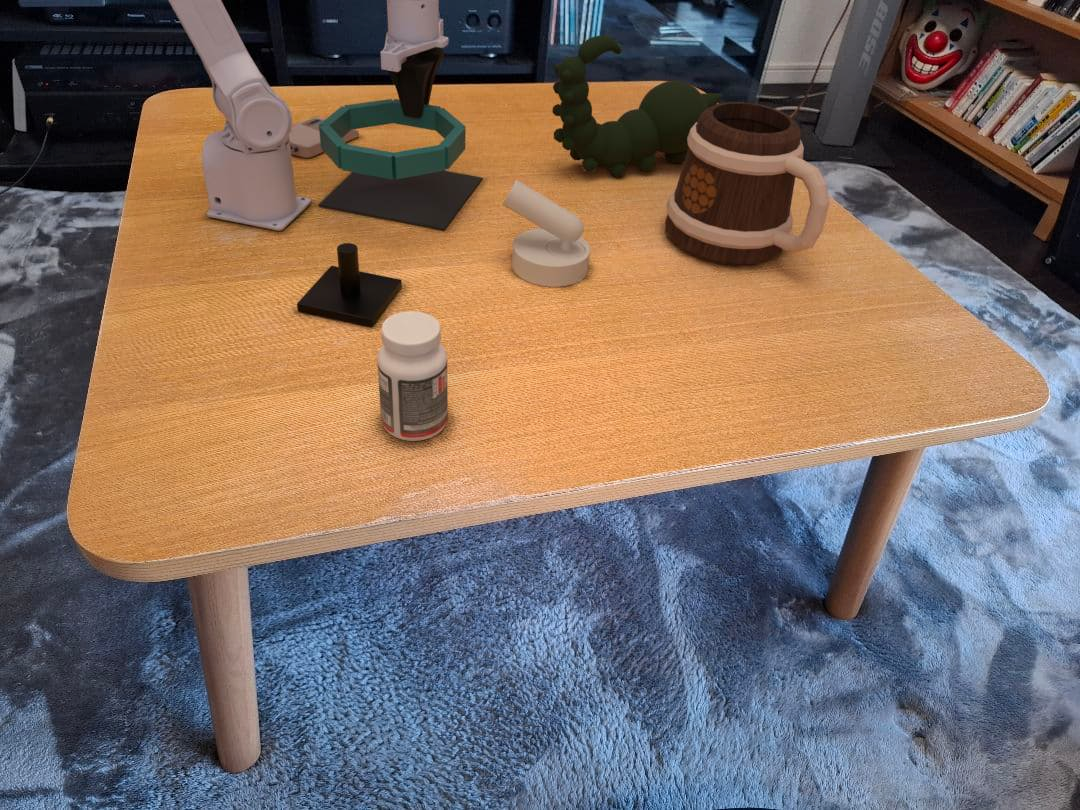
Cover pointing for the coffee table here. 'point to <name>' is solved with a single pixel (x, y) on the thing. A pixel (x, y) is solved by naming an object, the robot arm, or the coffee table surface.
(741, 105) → the mug
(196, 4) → the robot arm
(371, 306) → the post
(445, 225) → the mat
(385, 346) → the pill bottle
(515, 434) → the coffee table surface
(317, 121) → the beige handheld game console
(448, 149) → the hoop
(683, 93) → the toy figurine
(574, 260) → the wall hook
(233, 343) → the coffee table surface
